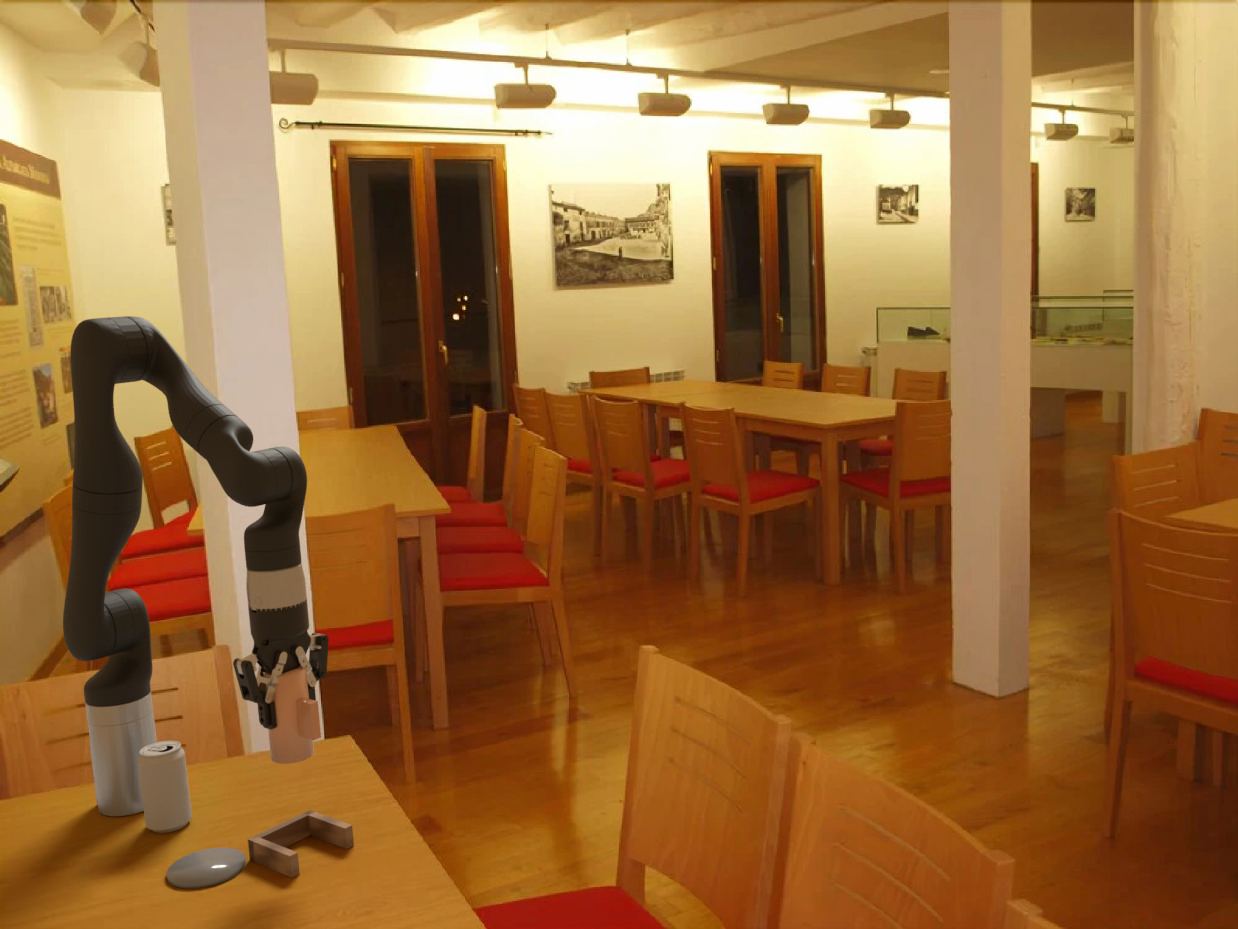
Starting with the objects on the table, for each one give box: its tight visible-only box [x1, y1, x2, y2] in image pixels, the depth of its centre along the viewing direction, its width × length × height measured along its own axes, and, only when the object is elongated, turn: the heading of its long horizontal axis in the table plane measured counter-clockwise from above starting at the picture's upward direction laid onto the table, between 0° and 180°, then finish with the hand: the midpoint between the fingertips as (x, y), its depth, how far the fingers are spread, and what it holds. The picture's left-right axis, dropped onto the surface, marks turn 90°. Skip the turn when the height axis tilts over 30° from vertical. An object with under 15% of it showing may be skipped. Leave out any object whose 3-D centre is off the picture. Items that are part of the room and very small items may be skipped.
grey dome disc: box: [166, 847, 247, 890], centre depth 156 cm, size 10×10×1 cm
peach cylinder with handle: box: [263, 667, 322, 765], centre depth 155 cm, size 8×6×12 cm, turn 53°
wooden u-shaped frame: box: [247, 809, 355, 879], centre depth 159 cm, size 9×10×3 cm
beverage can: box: [138, 740, 193, 834], centre depth 169 cm, size 6×6×12 cm
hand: (288, 719), depth 156 cm, fingers closed on peach cylinder with handle, 5 cm apart
